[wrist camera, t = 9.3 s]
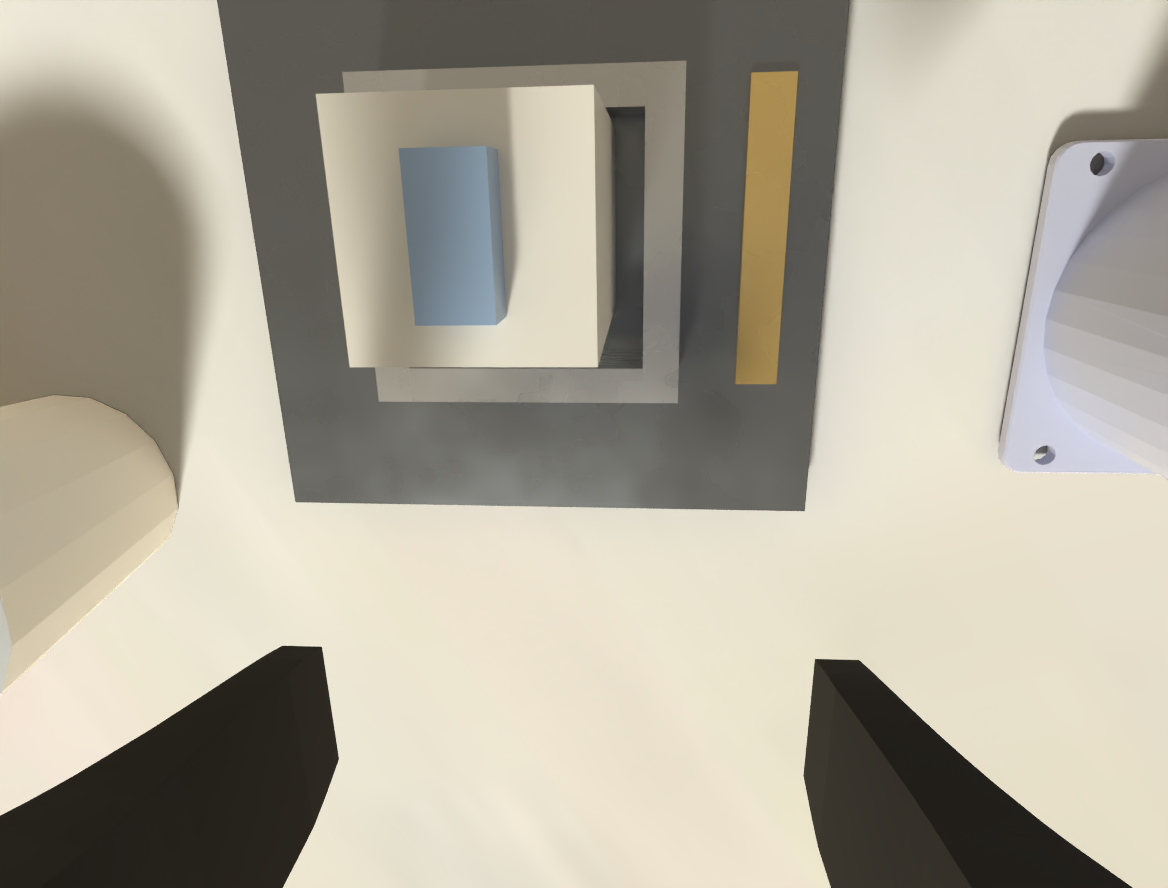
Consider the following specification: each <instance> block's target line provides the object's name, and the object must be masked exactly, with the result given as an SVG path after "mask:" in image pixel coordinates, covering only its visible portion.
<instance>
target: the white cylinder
mask: <svg viewBox="0 0 1168 888" xmlns="http://www.w3.org/2000/svg"><path fill="white" fill-rule="evenodd" d="M177 511H178V503H177V496H176V489H175V482H174V475H173V473H172V471H171V469H170V467H169V466H168V464H167V462H166V460H165V458H164V457H163V455H162V453H161V451H160V449H159V448H158V446H157V444H156V442H155V441H154V440H153V439H152V438H151V437H150V436H149V435H148V434H147V433H145V432H144V431H143V430H142V429H141V428H140V427H139V426H138V425H137V424H136V423H135V422H134V421H132V420H131V419H130V418H129V417H128V416H127V415H126V414H124V413H122V412H120V411H118V410H115V409H113V408H111V407H109V406H107V405H105V404H102V403H100V402H98V401H96V400H94V399H91V398H87V397H73V396H59V395H52V396H47V397H42V398H38V399H33V400H29V401H24V402H19V403H15V404H10V405H6V406H1V407H0V696H1V695H2V694H3V693H4V692H5V691H6V690H7V689H8V688H9V687H10V686H12V685H13V684H14V683H15V682H16V681H17V680H18V679H19V678H20V677H21V676H22V675H23V674H24V673H26V672H27V671H28V670H29V669H30V668H31V667H32V666H33V665H34V664H35V663H36V662H37V661H38V660H40V659H41V658H42V657H43V656H44V655H45V654H46V653H47V652H48V651H49V650H50V649H51V648H52V647H54V646H55V645H56V644H57V643H58V642H59V641H60V640H61V639H62V638H63V637H64V636H65V635H66V634H68V633H69V632H70V631H71V630H72V629H73V628H74V627H75V626H76V625H77V624H78V623H79V622H80V621H82V620H83V619H84V618H85V617H86V616H87V615H88V614H89V613H90V612H91V611H92V610H93V609H94V608H96V607H97V606H98V605H99V604H100V603H101V602H102V601H103V600H104V599H105V598H106V597H107V596H108V595H110V594H111V593H112V592H113V591H114V590H115V589H116V588H117V587H118V586H119V585H120V584H121V583H122V582H124V581H125V580H126V579H127V578H128V577H129V576H130V575H131V574H132V573H133V572H134V571H135V570H136V569H138V568H139V567H140V566H141V565H142V564H143V563H144V562H145V561H146V560H147V559H148V558H149V557H150V556H151V555H152V554H153V553H154V552H155V551H156V550H157V549H158V548H159V547H160V546H161V545H162V544H163V543H164V542H165V541H166V540H167V539H168V538H169V537H170V534H171V531H172V528H173V524H174V521H175V518H176V514H177Z"/></svg>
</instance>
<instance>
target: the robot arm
mask: <svg viewBox="0 0 1168 888" xmlns="http://www.w3.org/2000/svg"><path fill="white" fill-rule="evenodd" d="M1097 153H1101V154H1102V156H1103V157H1104V163H1105V164H1104V166H1103V169H1102V171H1100V172H1099V173H1098V174H1097V175H1094V174H1093V173H1092V172H1091V171H1090V162H1091V160H1092V158H1093V157H1094V156H1095V155H1096V154H1097ZM1046 445H1047V447H1048V451H1047V453H1046V455H1045V456H1044V457H1042V458H1041V459H1037V460H1034V454H1035V452H1036V450H1037V449H1039V448H1040V447H1042V446H1046ZM998 458H999V459H1000V461H1001V463H1002V464H1003V465H1005V466H1006V467H1007V468H1009V469H1010V470H1012V471H1015V472H1020V473H1095V474H1158V475H1160V476H1161V477H1163V478H1165V479H1167V480H1168V138H1166V139H1122V140H1082V141H1074V142H1070V143H1066V144H1064V145H1062V146H1061V147H1059V148H1058V149H1057V150H1056V151H1055V152H1054V154H1053V155H1052V156H1051V158H1050V161H1049V164H1048V168H1047V174H1046V179H1045V185H1044V191H1043V196H1042V202H1041V208H1040V214H1039V219H1038V225H1037V231H1036V236H1035V242H1034V248H1033V254H1032V259H1031V265H1030V271H1029V276H1028V282H1027V288H1026V294H1025V299H1024V305H1023V311H1022V316H1021V322H1020V328H1019V334H1018V339H1017V345H1016V351H1015V356H1014V362H1013V368H1012V373H1011V379H1010V385H1009V391H1008V396H1007V402H1006V408H1005V413H1004V419H1003V425H1002V431H1001V436H1000V442H999V448H998ZM338 760H339V757H338V751H337V744H336V737H335V731H334V724H333V718H332V711H331V705H330V698H329V691H328V685H327V678H326V672H325V665H324V658H323V652H322V647H306V646H281V647H279V648H278V649H276V650H274V651H272V652H270V653H269V654H267V655H265V656H264V657H262V658H260V659H259V660H257V661H256V662H254V663H252V664H251V665H249V666H248V667H246V668H245V669H243V670H241V671H240V672H238V673H237V674H235V675H234V676H232V677H231V678H229V679H228V680H226V681H225V682H223V683H222V684H220V685H218V686H217V687H215V688H214V689H212V690H211V691H209V692H208V693H206V694H205V695H203V696H202V697H200V698H199V699H197V700H196V701H194V702H192V703H191V704H189V705H188V706H186V707H185V708H183V709H182V710H180V711H179V712H177V713H175V714H174V715H172V716H171V717H169V718H168V719H166V720H165V721H163V722H162V723H160V724H159V725H157V726H155V727H154V728H152V729H151V730H149V731H147V732H146V733H144V734H142V735H141V736H139V737H137V738H136V739H134V740H133V741H131V742H129V743H128V744H126V745H124V746H123V747H121V748H119V749H118V750H116V751H114V752H113V753H111V754H109V755H108V756H106V757H104V758H103V759H101V760H99V761H98V762H96V763H94V764H93V765H91V766H89V767H88V768H86V769H85V770H83V771H81V772H80V773H78V774H76V775H75V776H73V777H71V778H69V779H68V780H66V781H64V782H62V783H60V784H59V785H57V786H55V787H53V788H52V789H50V790H48V791H46V792H44V793H42V794H41V795H39V796H37V797H35V798H33V799H31V800H30V801H28V802H26V803H24V804H22V805H20V806H18V807H16V808H14V809H12V810H10V811H8V812H7V813H5V814H3V815H1V816H0V888H283V886H284V884H285V882H286V880H287V878H288V876H289V874H290V872H291V870H292V868H293V866H294V865H295V863H296V861H297V859H298V857H299V855H300V853H301V851H302V849H303V847H304V845H305V843H306V841H307V839H308V837H309V835H310V833H311V831H312V829H313V827H314V825H315V822H316V820H317V817H318V814H319V812H320V809H321V807H322V804H323V802H324V799H325V796H326V794H327V791H328V788H329V785H330V782H331V780H332V777H333V774H334V771H335V768H336V766H337V763H338ZM804 780H805V785H806V790H807V795H808V800H809V805H810V811H811V816H812V820H813V825H814V830H815V834H816V839H817V844H818V848H819V851H820V854H821V858H822V861H823V864H824V867H825V870H826V873H827V876H828V879H829V883H830V886H831V888H1132V887H1131V886H1129V885H1128V884H1127V883H1125V882H1124V881H1122V880H1121V879H1120V878H1118V877H1117V876H1115V875H1114V874H1112V873H1111V872H1110V871H1108V870H1107V869H1105V868H1104V867H1103V866H1101V865H1100V864H1098V863H1097V862H1096V861H1094V860H1093V859H1091V858H1090V857H1089V856H1087V855H1086V854H1084V853H1083V852H1082V851H1080V850H1079V849H1077V848H1076V847H1075V846H1073V845H1072V844H1070V843H1069V842H1068V841H1066V840H1065V839H1064V838H1062V837H1061V836H1060V835H1058V834H1057V833H1056V832H1054V831H1053V830H1052V829H1051V828H1049V827H1048V826H1047V825H1045V824H1044V823H1043V822H1041V821H1040V820H1039V819H1038V818H1036V817H1035V816H1034V815H1033V814H1031V813H1030V812H1029V811H1028V810H1026V809H1025V808H1024V807H1023V806H1022V805H1020V804H1019V803H1018V802H1017V801H1015V800H1014V799H1013V798H1012V797H1010V796H1009V795H1008V794H1007V793H1005V792H1004V791H1003V790H1002V789H1000V788H999V787H998V786H997V785H996V784H994V783H993V782H992V781H991V780H990V779H989V778H987V777H986V776H985V775H984V774H983V773H981V772H980V771H979V770H978V769H977V768H976V767H974V766H973V765H972V764H971V763H970V762H969V761H968V760H966V759H965V758H964V757H963V756H962V755H961V754H960V753H958V752H957V751H956V750H955V749H954V748H953V747H952V746H951V745H950V744H948V743H947V742H946V741H945V740H944V739H943V738H942V737H941V736H940V735H938V734H937V733H936V732H935V731H934V730H933V729H932V728H931V727H930V726H929V725H928V724H926V723H925V722H924V721H923V720H922V719H921V718H920V717H919V716H918V715H917V714H916V713H915V712H914V711H913V710H912V709H910V708H909V707H908V706H907V705H906V704H905V703H904V702H903V701H902V700H901V699H900V698H899V697H898V696H897V695H896V694H895V693H894V692H893V691H892V690H890V689H889V688H888V687H887V686H886V685H885V684H884V683H883V682H882V681H881V680H880V679H879V678H878V677H877V676H876V675H875V674H874V673H873V672H872V671H870V670H869V669H868V668H867V667H866V666H865V665H864V664H863V663H862V662H861V661H859V660H829V659H815V665H814V675H813V686H812V696H811V706H810V716H809V726H808V737H807V747H806V757H805V767H804Z"/></svg>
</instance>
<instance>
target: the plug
mask: <svg viewBox="0 0 1168 888" xmlns="http://www.w3.org/2000/svg"><path fill="white" fill-rule="evenodd" d="M316 101H317V109H318V117H319V125H320V133H321V141H322V149H323V157H324V165H325V173H326V181H327V189H328V197H329V205H330V213H331V221H332V230H333V238H334V246H335V254H336V262H337V270H338V278H339V286H340V294H341V302H342V310H343V318H344V326H345V334H346V342H347V350H348V358H349V366H350V367H598V364H599V361H600V357H601V354H602V351H603V347H604V344H605V340H606V337H607V333H608V330H609V326H610V323H611V319H612V316H613V312H614V309H615V305H616V211H615V127H614V125H613V122H612V120H611V118H610V116H609V114H608V112H607V110H606V108H605V106H604V104H603V102H602V100H601V98H600V96H599V94H598V92H597V90H596V88H595V86H594V85H571V86H540V87H510V88H479V89H449V90H418V91H388V92H357V93H327V94H316Z"/></svg>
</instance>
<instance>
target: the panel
mask: <svg viewBox="0 0 1168 888" xmlns="http://www.w3.org/2000/svg"><path fill="white" fill-rule="evenodd" d="M217 3H218V9H219V15H220V22H221V28H222V35H223V41H224V47H225V54H226V60H227V66H228V73H229V79H230V86H231V92H232V98H233V105H234V111H235V118H236V124H237V130H238V137H239V143H240V150H241V156H242V162H243V169H244V175H245V182H246V188H247V194H248V201H249V207H250V214H251V220H252V226H253V233H254V239H255V246H256V252H257V258H258V265H259V271H260V278H261V284H262V290H263V297H264V303H265V310H266V316H267V322H268V329H269V335H270V342H271V348H272V354H273V361H274V367H275V373H276V380H277V386H278V393H279V399H280V405H281V412H282V418H283V425H284V431H285V437H286V444H287V450H288V457H289V463H290V469H291V476H292V482H293V489H294V495H295V501H296V502H320V503H377V504H433V505H490V506H547V507H604V508H660V509H717V510H774V511H805V501H806V489H807V478H808V467H809V455H810V444H811V432H812V421H813V409H814V398H815V386H816V375H817V364H818V352H819V341H820V329H821V318H822V306H823V295H824V283H825V272H826V261H827V249H828V238H829V226H830V215H831V203H832V192H833V180H834V169H835V157H836V146H837V135H838V123H839V112H840V100H841V89H842V77H843V66H844V54H845V43H846V32H847V20H848V9H849V0H217ZM571 85H594V86H595V88H596V90H597V92H598V94H599V96H600V98H601V100H602V102H603V104H604V106H605V108H606V110H607V112H608V114H609V116H610V118H611V120H612V122H613V125H614V127H615V211H616V305H615V309H614V312H613V316H612V319H611V323H610V326H609V330H608V333H607V337H606V340H605V344H604V347H603V351H602V354H601V357H600V361H599V364H598V367H350V366H349V358H348V350H347V342H346V334H345V326H344V318H343V310H342V302H341V294H340V286H339V278H338V270H337V262H336V254H335V246H334V238H333V230H332V221H331V213H330V205H329V197H328V189H327V181H326V173H325V165H324V157H323V149H322V141H321V133H320V125H319V117H318V109H317V101H316V94H327V93H357V92H388V91H418V90H449V89H479V88H510V87H540V86H571Z"/></svg>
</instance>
